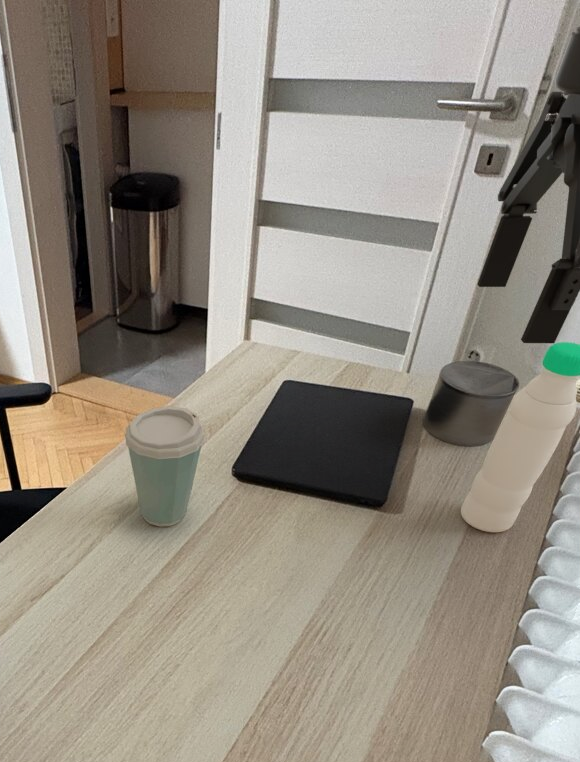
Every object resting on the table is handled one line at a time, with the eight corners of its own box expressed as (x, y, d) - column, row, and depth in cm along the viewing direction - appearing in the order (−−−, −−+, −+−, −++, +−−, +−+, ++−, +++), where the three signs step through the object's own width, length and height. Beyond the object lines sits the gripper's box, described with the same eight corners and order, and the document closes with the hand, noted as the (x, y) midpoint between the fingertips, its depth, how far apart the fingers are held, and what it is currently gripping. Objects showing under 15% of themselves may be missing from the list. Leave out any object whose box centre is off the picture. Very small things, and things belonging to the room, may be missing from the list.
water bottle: (522, 531, 87) (622, 359, 68) (475, 537, 86) (564, 365, 68) (493, 501, 91) (580, 332, 73) (449, 506, 91) (526, 338, 73)
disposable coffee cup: (140, 543, 86) (139, 451, 76) (116, 499, 93) (113, 409, 83) (210, 526, 89) (219, 434, 78) (181, 484, 96) (186, 395, 85)
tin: (488, 412, 108) (510, 363, 102) (502, 449, 101) (527, 398, 94) (418, 406, 110) (435, 358, 104) (426, 442, 102) (445, 392, 96)
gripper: (521, 11, 55) (441, 266, 71) (662, 43, 38) (516, 370, 54) (610, 8, 55) (509, 266, 70) (792, 40, 38) (607, 371, 53)
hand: (512, 312), depth 62 cm, fingers open, 13 cm apart
